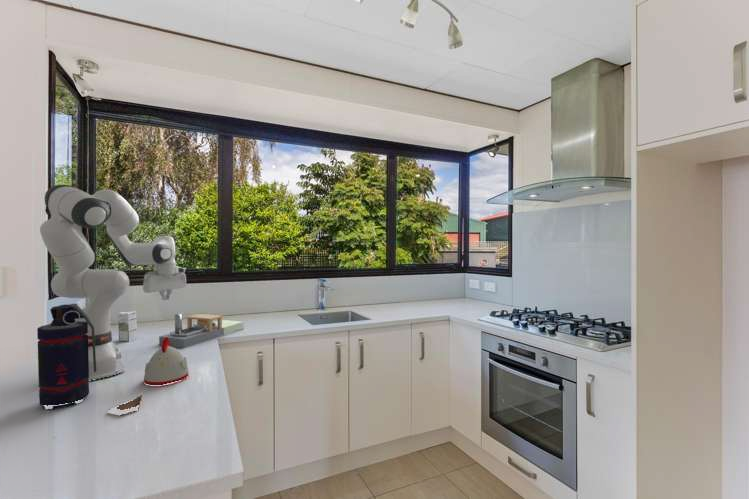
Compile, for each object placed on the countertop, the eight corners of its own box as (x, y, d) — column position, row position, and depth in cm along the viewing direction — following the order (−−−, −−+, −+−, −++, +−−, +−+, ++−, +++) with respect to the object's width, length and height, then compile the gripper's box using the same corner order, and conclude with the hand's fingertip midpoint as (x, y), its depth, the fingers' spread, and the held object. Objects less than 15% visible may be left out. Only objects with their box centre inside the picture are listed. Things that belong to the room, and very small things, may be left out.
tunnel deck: (183, 347, 172) (183, 325, 172) (159, 344, 178) (159, 322, 178) (243, 328, 209) (243, 310, 209) (221, 326, 215) (221, 308, 215)
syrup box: (137, 338, 189) (137, 310, 189) (128, 341, 183) (128, 312, 183) (127, 338, 190) (126, 310, 189) (118, 341, 184) (117, 312, 184)
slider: (183, 336, 175) (183, 315, 175) (168, 335, 179) (167, 314, 179) (219, 326, 196) (219, 307, 196) (205, 325, 200) (204, 306, 200)
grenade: (36, 414, 106) (33, 310, 105) (42, 400, 115) (39, 305, 115) (96, 402, 114) (94, 305, 113) (97, 389, 123) (95, 300, 123)
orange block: (204, 330, 190) (204, 321, 190) (197, 329, 192) (197, 320, 192) (212, 327, 195) (212, 319, 195) (204, 327, 197) (204, 318, 197)
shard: (142, 399, 117) (141, 394, 116) (159, 403, 114) (159, 397, 114) (106, 414, 106) (106, 408, 106) (124, 419, 104) (124, 412, 104)
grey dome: (138, 388, 124) (137, 344, 124) (151, 374, 138) (150, 334, 137) (183, 384, 128) (182, 341, 128) (192, 370, 141) (191, 332, 141)
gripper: (149, 272, 161) (150, 303, 162) (188, 268, 180) (188, 296, 181) (139, 272, 163) (140, 303, 164) (178, 268, 182) (179, 296, 183)
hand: (166, 299), depth 172 cm, fingers closed
